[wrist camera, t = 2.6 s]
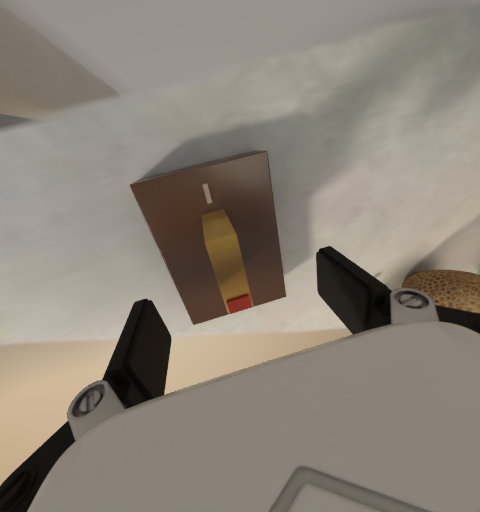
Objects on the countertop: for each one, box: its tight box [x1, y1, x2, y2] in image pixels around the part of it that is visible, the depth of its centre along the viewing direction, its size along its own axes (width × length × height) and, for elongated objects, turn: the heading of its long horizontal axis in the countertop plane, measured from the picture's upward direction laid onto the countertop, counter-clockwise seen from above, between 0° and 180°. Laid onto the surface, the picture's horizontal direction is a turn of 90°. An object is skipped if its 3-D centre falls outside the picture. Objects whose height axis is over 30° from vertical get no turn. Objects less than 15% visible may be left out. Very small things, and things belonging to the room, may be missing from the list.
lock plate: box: [130, 151, 286, 325], centre depth 19 cm, size 14×10×3 cm
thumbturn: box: [202, 209, 253, 314], centre depth 15 cm, size 6×2×6 cm, turn 12°
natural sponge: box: [402, 270, 480, 313], centre depth 25 cm, size 9×9×10 cm
